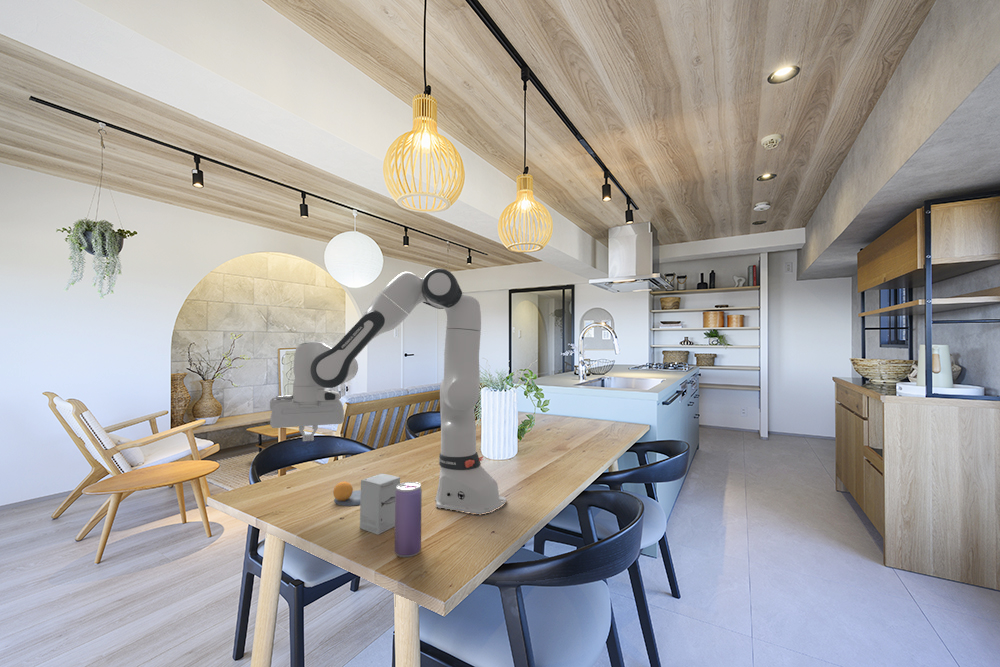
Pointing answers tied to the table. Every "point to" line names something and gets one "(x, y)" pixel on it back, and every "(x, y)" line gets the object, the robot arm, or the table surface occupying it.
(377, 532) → the supplement box
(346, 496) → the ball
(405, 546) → the beverage can
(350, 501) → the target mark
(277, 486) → the table surface
